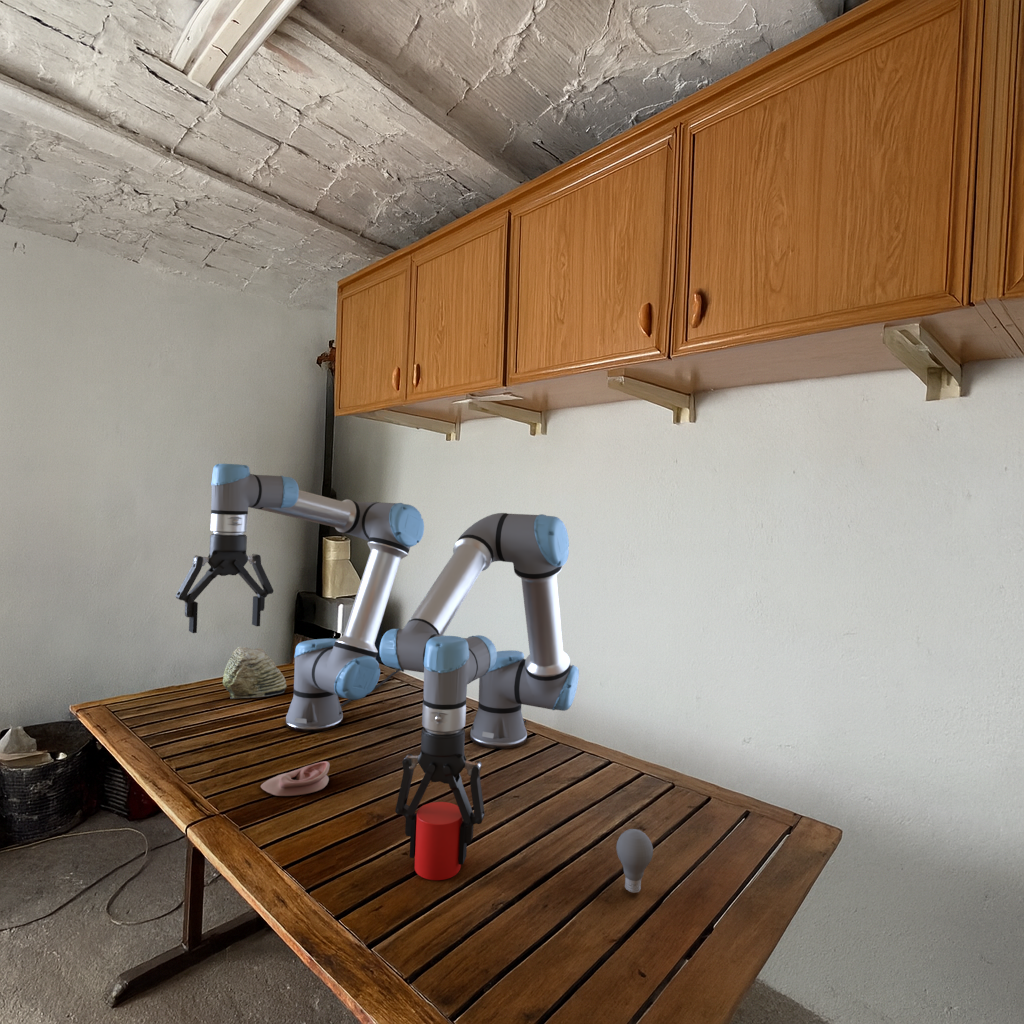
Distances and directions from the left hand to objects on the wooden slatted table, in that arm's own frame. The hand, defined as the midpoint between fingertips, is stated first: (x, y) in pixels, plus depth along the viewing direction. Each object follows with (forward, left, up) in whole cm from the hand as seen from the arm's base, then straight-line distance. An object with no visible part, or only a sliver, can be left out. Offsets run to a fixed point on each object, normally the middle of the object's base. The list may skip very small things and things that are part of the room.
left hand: (225, 628), depth 141 cm
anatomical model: (-9, +16, -33) cm, 38 cm away
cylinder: (-8, +61, -33) cm, 69 cm away
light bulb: (-25, +89, -33) cm, 99 cm away
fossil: (-34, -47, -33) cm, 67 cm away
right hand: (-8, +61, -31) cm, 69 cm away
